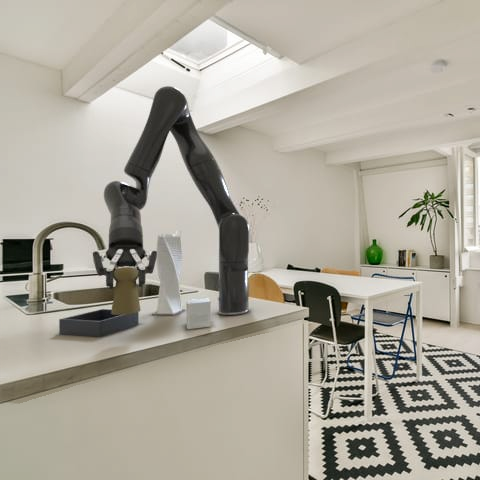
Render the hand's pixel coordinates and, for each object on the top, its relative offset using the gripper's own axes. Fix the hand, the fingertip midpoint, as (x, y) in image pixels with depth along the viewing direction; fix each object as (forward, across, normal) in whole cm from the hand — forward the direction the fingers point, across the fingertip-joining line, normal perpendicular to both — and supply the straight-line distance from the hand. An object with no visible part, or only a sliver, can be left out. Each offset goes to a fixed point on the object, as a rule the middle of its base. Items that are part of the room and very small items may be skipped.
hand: (126, 285), depth 81 cm
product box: (+6, +17, +14) cm, 23 cm away
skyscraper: (-10, +12, +30) cm, 33 cm away
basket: (-2, -6, +22) cm, 23 cm away
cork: (+4, 0, +6) cm, 7 cm away
